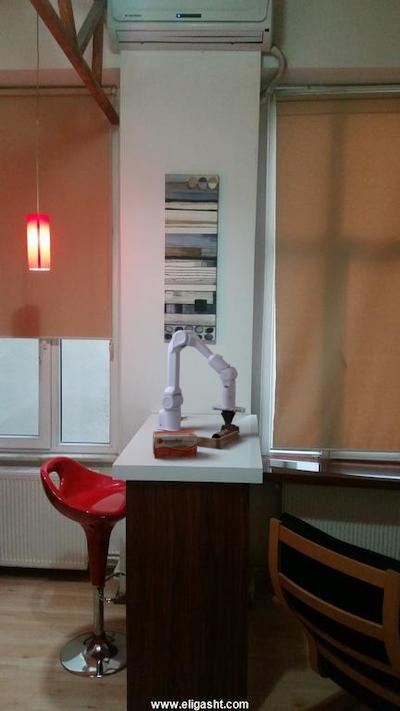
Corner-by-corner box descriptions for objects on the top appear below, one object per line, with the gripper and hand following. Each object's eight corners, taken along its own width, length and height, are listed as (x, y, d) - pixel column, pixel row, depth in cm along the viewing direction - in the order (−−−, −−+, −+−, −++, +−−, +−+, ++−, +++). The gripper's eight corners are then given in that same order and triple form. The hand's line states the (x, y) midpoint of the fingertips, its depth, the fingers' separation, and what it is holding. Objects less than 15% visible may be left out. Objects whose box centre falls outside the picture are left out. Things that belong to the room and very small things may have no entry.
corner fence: (188, 444, 187) (188, 435, 187) (209, 435, 203) (209, 427, 203) (218, 449, 181) (219, 439, 181) (238, 439, 196) (238, 430, 196)
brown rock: (222, 445, 187) (222, 431, 187) (207, 443, 190) (207, 429, 190) (242, 436, 202) (242, 422, 202) (227, 434, 206) (227, 421, 205)
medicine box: (154, 459, 168) (154, 436, 167) (152, 453, 176) (152, 431, 175) (197, 457, 170) (197, 434, 170) (193, 451, 178) (194, 429, 178)
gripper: (208, 396, 204) (208, 428, 204) (240, 398, 197) (240, 432, 197) (216, 394, 210) (216, 425, 211) (247, 396, 203) (247, 429, 204)
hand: (228, 428), depth 204 cm, fingers closed
